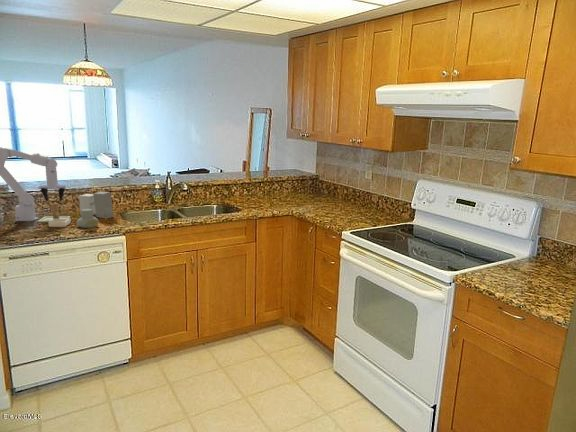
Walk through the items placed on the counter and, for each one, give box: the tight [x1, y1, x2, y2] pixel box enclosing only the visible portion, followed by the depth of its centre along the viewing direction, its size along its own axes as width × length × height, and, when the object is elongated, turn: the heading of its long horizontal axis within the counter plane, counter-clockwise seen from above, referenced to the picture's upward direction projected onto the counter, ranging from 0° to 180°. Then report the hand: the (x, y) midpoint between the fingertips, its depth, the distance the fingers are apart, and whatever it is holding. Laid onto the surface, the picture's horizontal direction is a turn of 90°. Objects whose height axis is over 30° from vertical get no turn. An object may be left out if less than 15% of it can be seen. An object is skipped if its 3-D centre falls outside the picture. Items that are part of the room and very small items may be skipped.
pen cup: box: [47, 218, 72, 228], centre depth 239 cm, size 9×9×3 cm
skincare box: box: [93, 190, 114, 220], centre depth 259 cm, size 8×7×16 cm
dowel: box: [51, 203, 60, 219], centre depth 249 cm, size 3×3×9 cm
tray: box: [36, 215, 71, 223], centre depth 250 cm, size 14×12×1 cm
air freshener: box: [76, 209, 99, 229], centre depth 237 cm, size 11×8×10 cm
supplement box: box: [78, 193, 96, 216], centre depth 265 cm, size 7×7×13 cm
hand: (53, 200), depth 257 cm, fingers open, 7 cm apart
